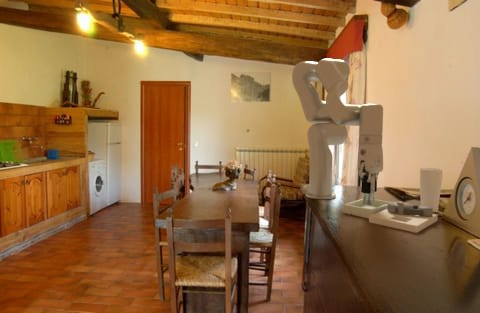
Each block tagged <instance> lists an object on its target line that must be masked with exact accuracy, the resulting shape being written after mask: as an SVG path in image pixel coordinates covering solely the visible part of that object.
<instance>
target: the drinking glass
mask: <svg viewBox="0 0 480 313" xmlns="http://www.w3.org/2000/svg"><path fill="white" fill-rule="evenodd" d="M442 184H443V169H441V168H437V167H436V168H435V167H420V168H419V193H420V197H419V198H420V206H427V207H431V208H433V213H437V212H438V211H439V204H440V197H441V196H440V195H441V190H442ZM436 211H437V212H436Z"/></svg>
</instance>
